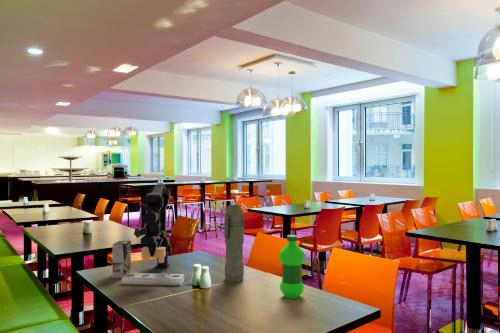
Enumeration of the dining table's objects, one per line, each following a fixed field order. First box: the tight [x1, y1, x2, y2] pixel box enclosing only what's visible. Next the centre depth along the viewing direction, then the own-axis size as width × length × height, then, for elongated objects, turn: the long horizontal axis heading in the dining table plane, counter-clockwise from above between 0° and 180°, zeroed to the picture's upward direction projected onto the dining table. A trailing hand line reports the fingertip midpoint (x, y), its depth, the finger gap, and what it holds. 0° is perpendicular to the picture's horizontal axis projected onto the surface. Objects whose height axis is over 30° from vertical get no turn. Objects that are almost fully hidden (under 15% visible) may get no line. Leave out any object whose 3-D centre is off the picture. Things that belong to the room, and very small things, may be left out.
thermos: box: [223, 204, 245, 284], centre depth 185 cm, size 9×12×35 cm
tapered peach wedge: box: [141, 246, 166, 263], centre depth 182 cm, size 10×4×6 cm, turn 86°
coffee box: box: [111, 240, 132, 279], centre depth 192 cm, size 9×6×16 cm
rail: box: [121, 272, 185, 286], centre depth 182 cm, size 7×27×3 cm, turn 86°
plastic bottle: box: [278, 234, 306, 300], centre depth 163 cm, size 10×10×25 cm
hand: (153, 255), depth 182 cm, fingers closed on tapered peach wedge, 4 cm apart
